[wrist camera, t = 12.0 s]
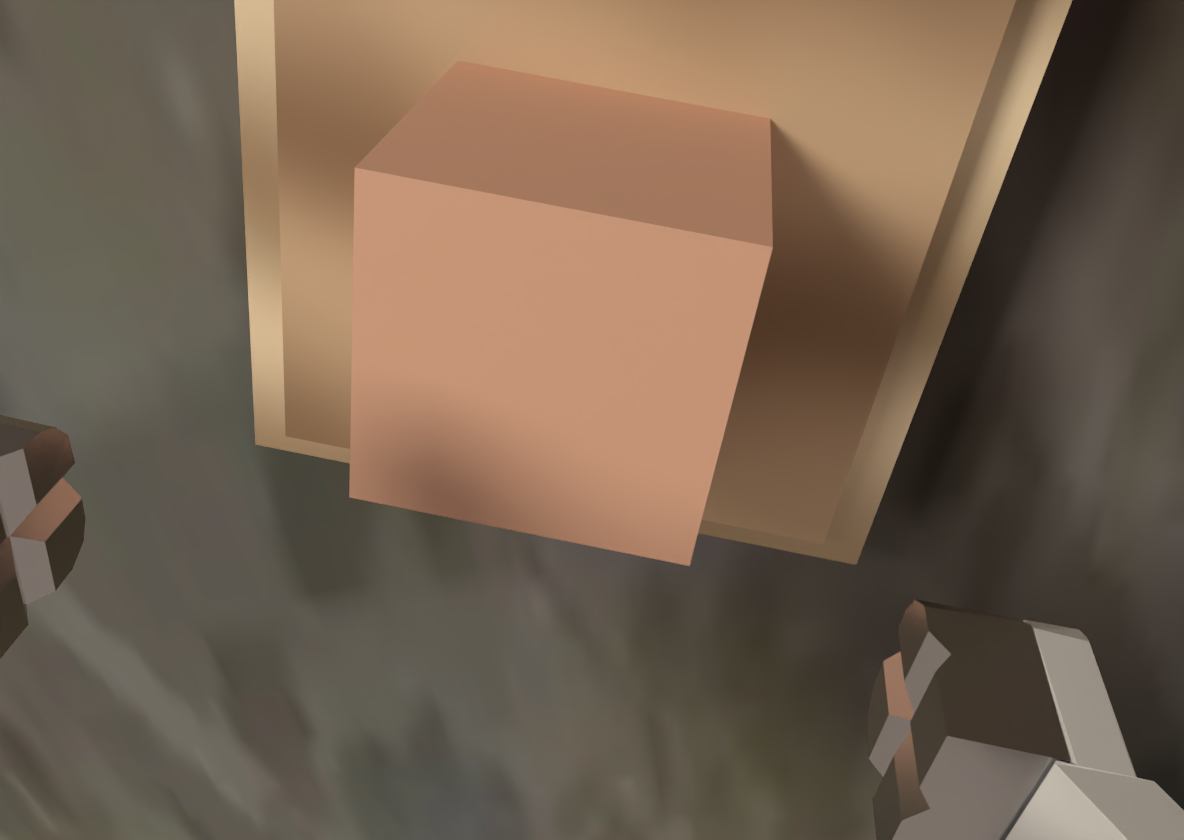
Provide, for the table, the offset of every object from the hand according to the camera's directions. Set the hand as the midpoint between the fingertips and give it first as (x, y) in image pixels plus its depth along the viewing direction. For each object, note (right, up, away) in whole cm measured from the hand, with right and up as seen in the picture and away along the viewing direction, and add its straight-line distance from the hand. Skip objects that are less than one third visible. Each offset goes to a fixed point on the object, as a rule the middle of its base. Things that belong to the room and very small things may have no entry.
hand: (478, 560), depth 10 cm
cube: (+1, +4, +8) cm, 9 cm away
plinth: (+2, +7, +11) cm, 13 cm away
